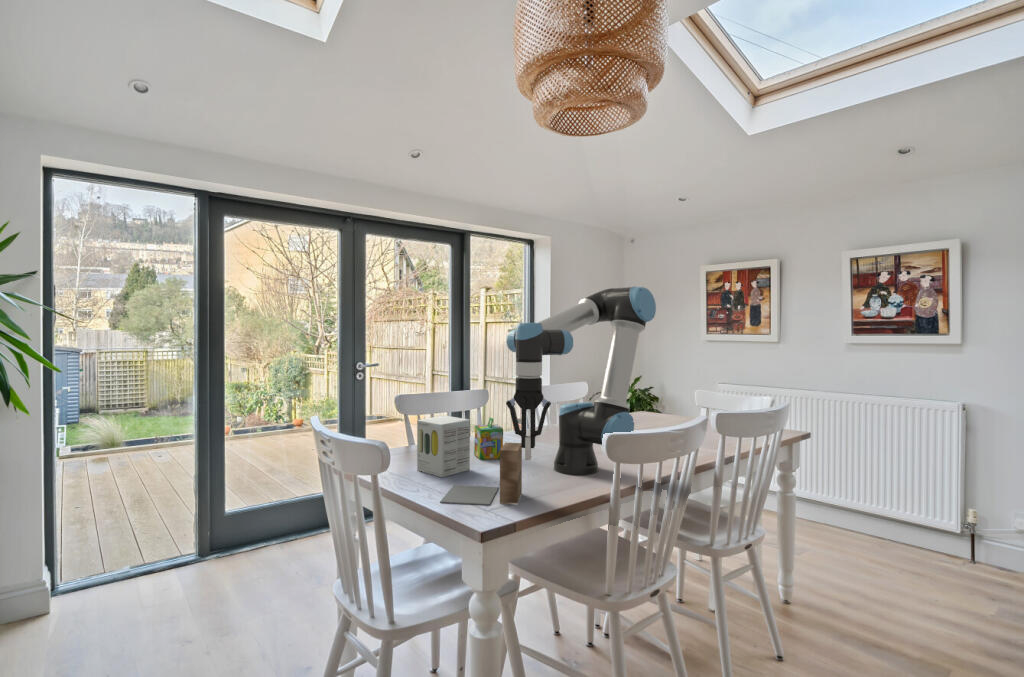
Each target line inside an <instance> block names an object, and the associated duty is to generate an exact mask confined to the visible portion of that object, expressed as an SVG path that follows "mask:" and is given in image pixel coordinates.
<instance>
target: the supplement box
mask: <svg viewBox="0 0 1024 677" xmlns="http://www.w3.org/2000/svg"><path fill="white" fill-rule="evenodd" d="M416 434H417V435H416V436H417V438H416V439H417V440H416V443H417V445H416V448H417V449H416V450H417V452H416V453H417V454H416V456H417V458H416V470H417V471H418V472H421V471H422V473H426V474H429V475H432V474H433V476H437V477H441V478H443V477H447V476H448V477H449V476H452V475H455V474H459V473H463V472H467V471H470V468H471V466H470V465H471V463H470V461H471V456H470V455H471V453H470V452H471V451H470V450H471V447H470V446H471V420H470V419H468V418H461V417H455V416H451V415H450V416H449V415H439V416H434V417H433V416H432V417H428V418H422V419H417V420H416Z"/></svg>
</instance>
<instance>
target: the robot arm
mask: <svg viewBox="0 0 1024 677" xmlns="http://www.w3.org/2000/svg"><path fill="white" fill-rule="evenodd" d="M656 311H657V304H656V300H655V298H654V294H653V293H652V292H651V291H650V290H649V289H648V288H647V287H644V286H631V287H630V286H629V287H617V288H616V287H615V288H613V287H612V288H605V289H602V290H601V291H600V290H599V291H598V292H595V293H593V294H591V295H589V296H587V297H585V298H582V299H580V300H579V301H578V303H577V304H576V305H573V306H571V307H569V308H567V309H565V310H563V311H562V310H561V311H560V312H558V313H556V314H554V315H552V316H550V317H547V318H545V319H542V320H540V321H538V322H519V323H517V324H516V326H515V328H516V329H512V330H510V331H509V332H508V334H507V335H506V341H505V342H506V346H507V348H508V350H509V351H510V352H512V353H515V376H517V377H516V378H515V391H514V392H515V393H514V394H513V397H512V398H511V399H508V400H507V401H506V402H505V403H506V404H505V405H506V407H507V408H508V410H509V413H510V418H511V422H512V427H513V430H514V434H515V435H518V436H520V437H521V440H520V441H521V442H520V443H521V447H522V449H524V461H529V462H530V461H531V459H532V449H535V446H536V437H537V436H540V435H541V434H542V432H543V427H544V424H545V420H546V417H547V416H546V415H547V413H548V409H550V406H551V404H552V402H551V401H550V400H547V399H546V398H545V397H544V394H543V378H542V377H541V376H542V375H543V356H562V355H568V354H569V353H571V351H572V349H573V348H574V337H573V335H572V333H571V332H574V331H576V330H578V329H581V328H582V327H584V326H586V325H589V326H593V325H595V324H597V323H600V322H601V323H602V322H603V323H604V322H609V323H610V325H611V326H612V327H613V330H612V337H611V341H610V347H609V351H608V355H607V361H606V366H605V372H604V377H603V381H602V386H601V392H600V396H599V398H597V399H595V400H594V402H590V401H586V402H585V401H584V402H582V401H581V402H570V403H564V404H562V405H560V407H559V415H558V427H559V428H558V435H559V438H558V440H559V441H558V442H559V444H558V449H557V453H556V456H555V458H554V462H553V469H554V470H555V471H556V472H559V473H562V474H566V475H577V476H579V475H580V476H581V475H590V474H595V473H597V472H598V470H599V463H598V460H597V457H596V452H595V450H594V444H596V445H601V446H603V445H602V438H603V434H605V433H613V432H631V431H633V432H634V430H635V422H634V417H633V416H632V414H630V407H629V405H628V404H627V400H628V394H629V390H630V385H631V384H630V383H631V378H632V374H633V368H634V363H635V358H636V352H637V349H638V348H637V346H638V342H639V337H640V333H641V332H643V331H645V329H646V325H647V323H649V322H651V321H652V320H653V319H654V318H655V316H656V313H657V312H656ZM541 403H542V404H541ZM516 404H517V405H518V407H519V408H520V410H521V412H520V415H521V417H520V418H521V420H520V421H521V422H520V424H519V420H518V415H517V412H516V407H515V406H516ZM540 404H541V406H542V410H541V415H540V418H539V423H538V427H537V430H536V409H537V408H538V407H539V405H540ZM528 410H529V413H530V417H529V418H530V424H529V426H530V428H529V431H530V433H529V434H530V435H527V411H528ZM520 425H521V426H520Z"/></svg>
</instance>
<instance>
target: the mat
mask: <svg viewBox="0 0 1024 677" xmlns="http://www.w3.org/2000/svg"><path fill="white" fill-rule="evenodd" d="M499 490H500V486H487V485H486V486H483V485H458V484H454V485H452V487H451V488H450V489H449V490H448V492H447V493H446V494H445V495H444V496H443V497H442V499H441V500H440V501H439V503H440V502H441V503H440V504H450V503H452V504H451V505H456V504H457V505H472V506H491V503H492V502H493V499H494V498H495V496H496V494H497V492H498V491H499Z"/></svg>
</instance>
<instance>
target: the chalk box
mask: <svg viewBox="0 0 1024 677" xmlns="http://www.w3.org/2000/svg"><path fill="white" fill-rule="evenodd" d="M493 423H494V418H492V417H489V419H488V422H487V424H480V425H479V424H475V425H474V446H473V447H474V449H473V451H474V452H473V454H474V456H475V457H476V458H477V459H478V460H480V461H482V460H483V461H486V460H500V449H501V448H502V446H503V445H504V428H503V427H502V426H500V425H499V424H493Z"/></svg>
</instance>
